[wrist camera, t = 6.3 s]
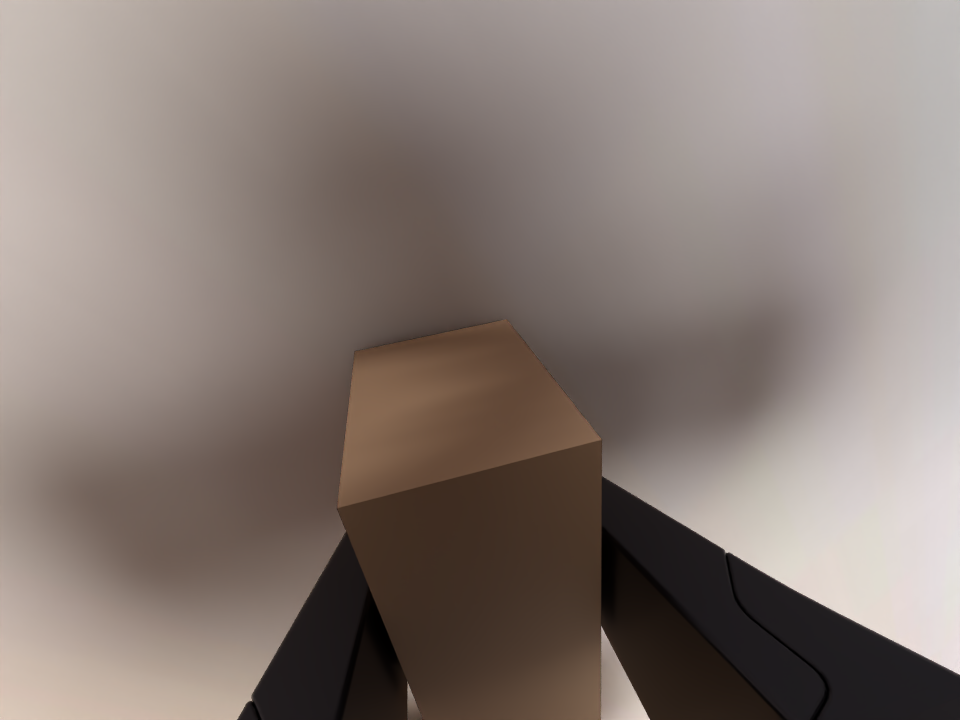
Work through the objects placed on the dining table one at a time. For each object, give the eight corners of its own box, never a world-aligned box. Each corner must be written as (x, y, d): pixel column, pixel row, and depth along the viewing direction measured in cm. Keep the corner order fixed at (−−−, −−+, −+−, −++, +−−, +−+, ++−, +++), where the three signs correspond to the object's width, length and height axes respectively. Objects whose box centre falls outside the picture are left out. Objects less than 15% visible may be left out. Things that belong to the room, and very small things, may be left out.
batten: (506, 319, 8) (601, 439, 5) (552, 735, 17) (599, 890, 13) (354, 351, 8) (336, 508, 4) (480, 761, 16) (508, 928, 13)
